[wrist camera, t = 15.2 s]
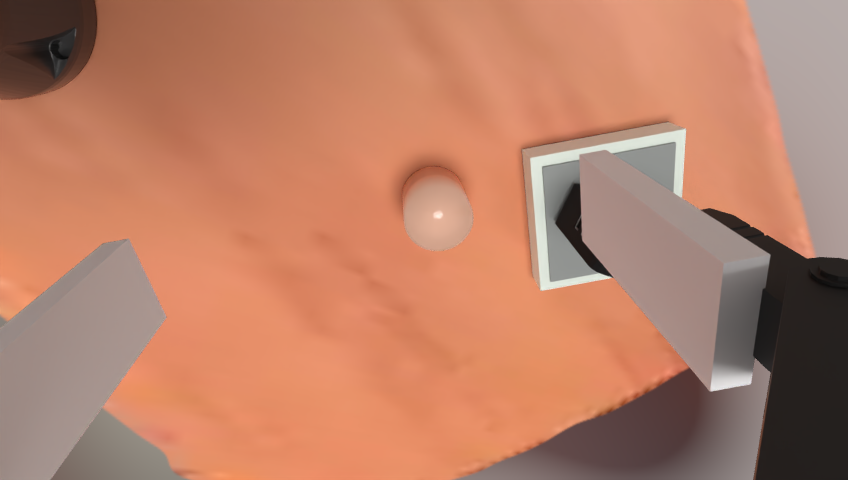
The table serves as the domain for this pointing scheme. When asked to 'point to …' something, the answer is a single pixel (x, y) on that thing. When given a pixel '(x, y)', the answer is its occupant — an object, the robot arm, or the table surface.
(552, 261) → the stand
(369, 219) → the table surface
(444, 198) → the pale pink rounded piece
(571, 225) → the electronic device
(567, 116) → the table surface
